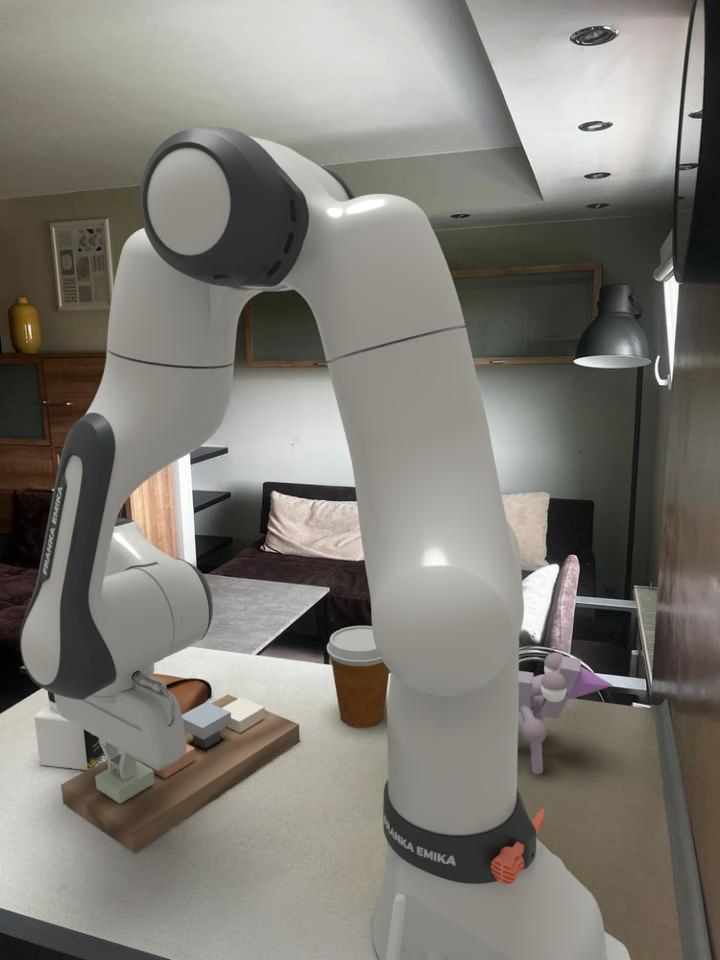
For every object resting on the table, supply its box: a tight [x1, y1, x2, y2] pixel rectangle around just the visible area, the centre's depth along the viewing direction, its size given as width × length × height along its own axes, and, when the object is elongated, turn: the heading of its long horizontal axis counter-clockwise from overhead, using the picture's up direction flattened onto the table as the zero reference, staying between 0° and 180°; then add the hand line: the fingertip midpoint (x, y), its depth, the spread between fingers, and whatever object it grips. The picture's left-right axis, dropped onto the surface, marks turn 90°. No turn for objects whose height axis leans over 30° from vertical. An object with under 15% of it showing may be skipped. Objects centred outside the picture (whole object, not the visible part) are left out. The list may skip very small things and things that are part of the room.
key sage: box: [95, 761, 155, 804], centre depth 80 cm, size 5×5×4 cm
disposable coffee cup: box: [326, 625, 390, 728], centre depth 99 cm, size 10×10×12 cm
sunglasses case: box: [151, 673, 213, 715], centre depth 105 cm, size 18×7×7 cm, turn 75°
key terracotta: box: [141, 744, 196, 778], centre depth 85 cm, size 5×5×4 cm
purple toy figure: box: [519, 652, 614, 775], centre depth 89 cm, size 20×11×14 cm, turn 70°
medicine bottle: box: [34, 691, 105, 771], centre depth 91 cm, size 7×7×12 cm
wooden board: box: [60, 694, 301, 854], centre depth 88 cm, size 14×26×2 cm, turn 143°
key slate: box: [182, 701, 231, 749], centre depth 89 cm, size 5×5×4 cm
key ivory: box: [222, 697, 266, 733], centre depth 94 cm, size 5×5×4 cm
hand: (122, 773), depth 80 cm, fingers closed
